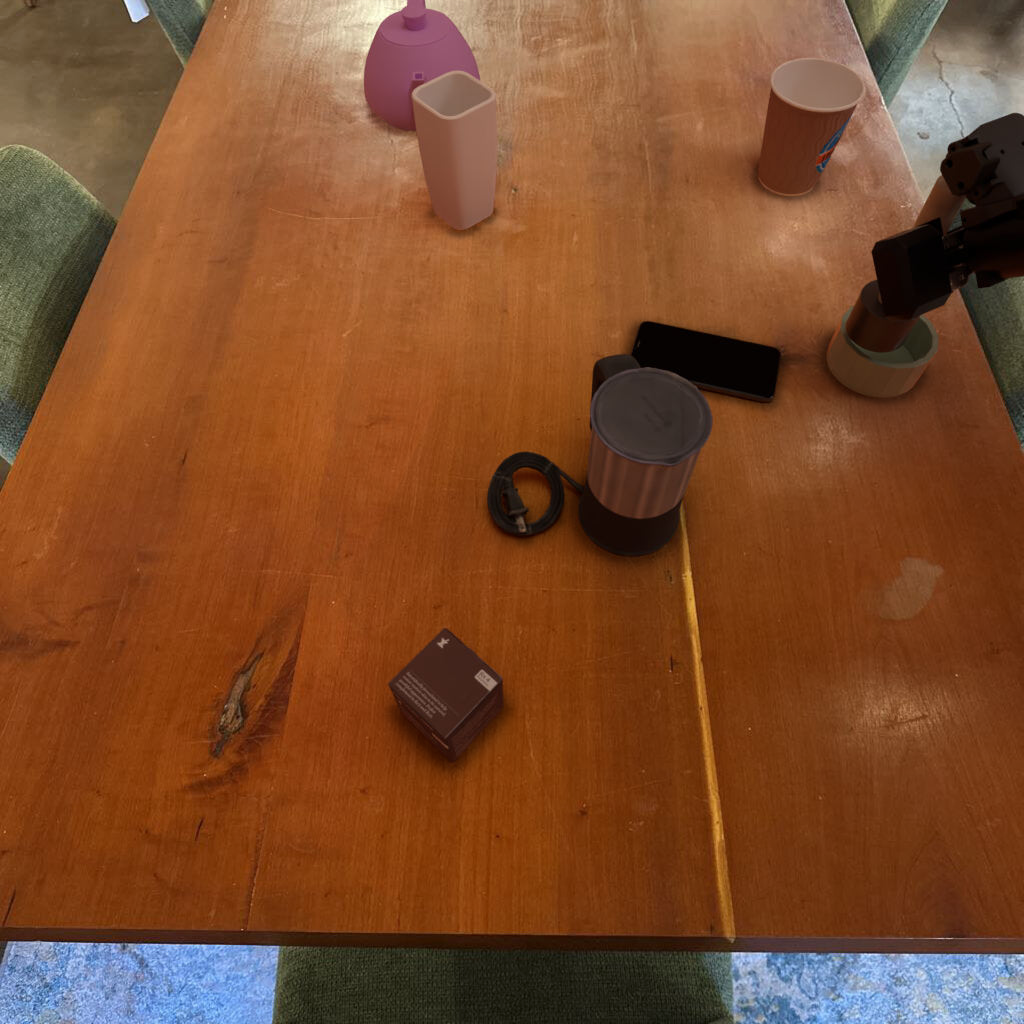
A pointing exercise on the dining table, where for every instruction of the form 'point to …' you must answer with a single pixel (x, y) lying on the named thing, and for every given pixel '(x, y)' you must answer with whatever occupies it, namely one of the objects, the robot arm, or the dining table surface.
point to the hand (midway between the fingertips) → (898, 259)
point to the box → (448, 694)
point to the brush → (867, 313)
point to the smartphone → (709, 360)
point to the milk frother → (621, 460)
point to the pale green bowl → (882, 361)
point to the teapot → (411, 60)
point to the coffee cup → (805, 121)
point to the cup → (458, 146)
